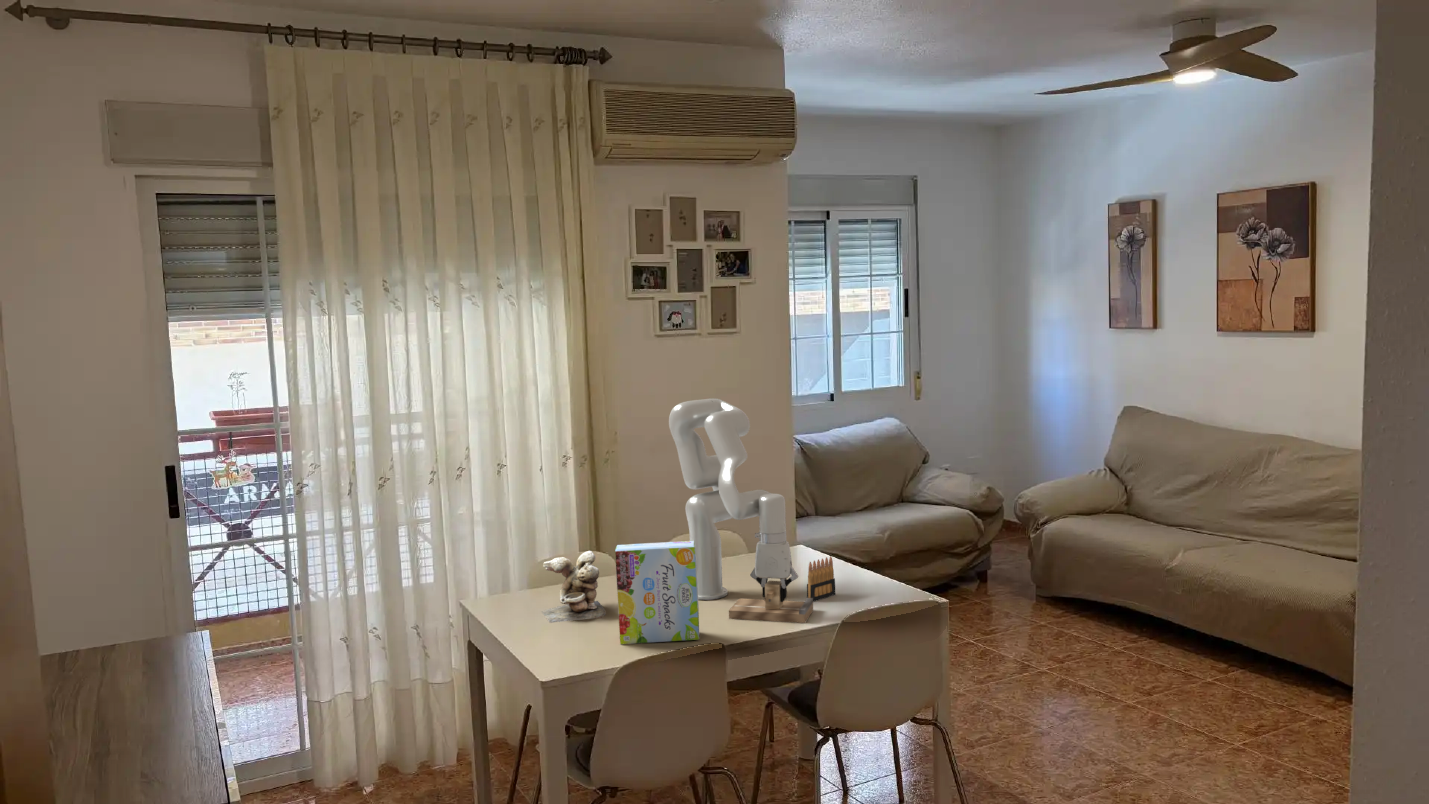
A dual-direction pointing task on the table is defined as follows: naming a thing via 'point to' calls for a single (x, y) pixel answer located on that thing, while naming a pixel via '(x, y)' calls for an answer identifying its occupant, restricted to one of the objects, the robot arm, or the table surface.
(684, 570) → the snack box
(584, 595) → the cherub figurine
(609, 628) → the table surface
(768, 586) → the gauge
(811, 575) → the ammunition clip
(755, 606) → the board
